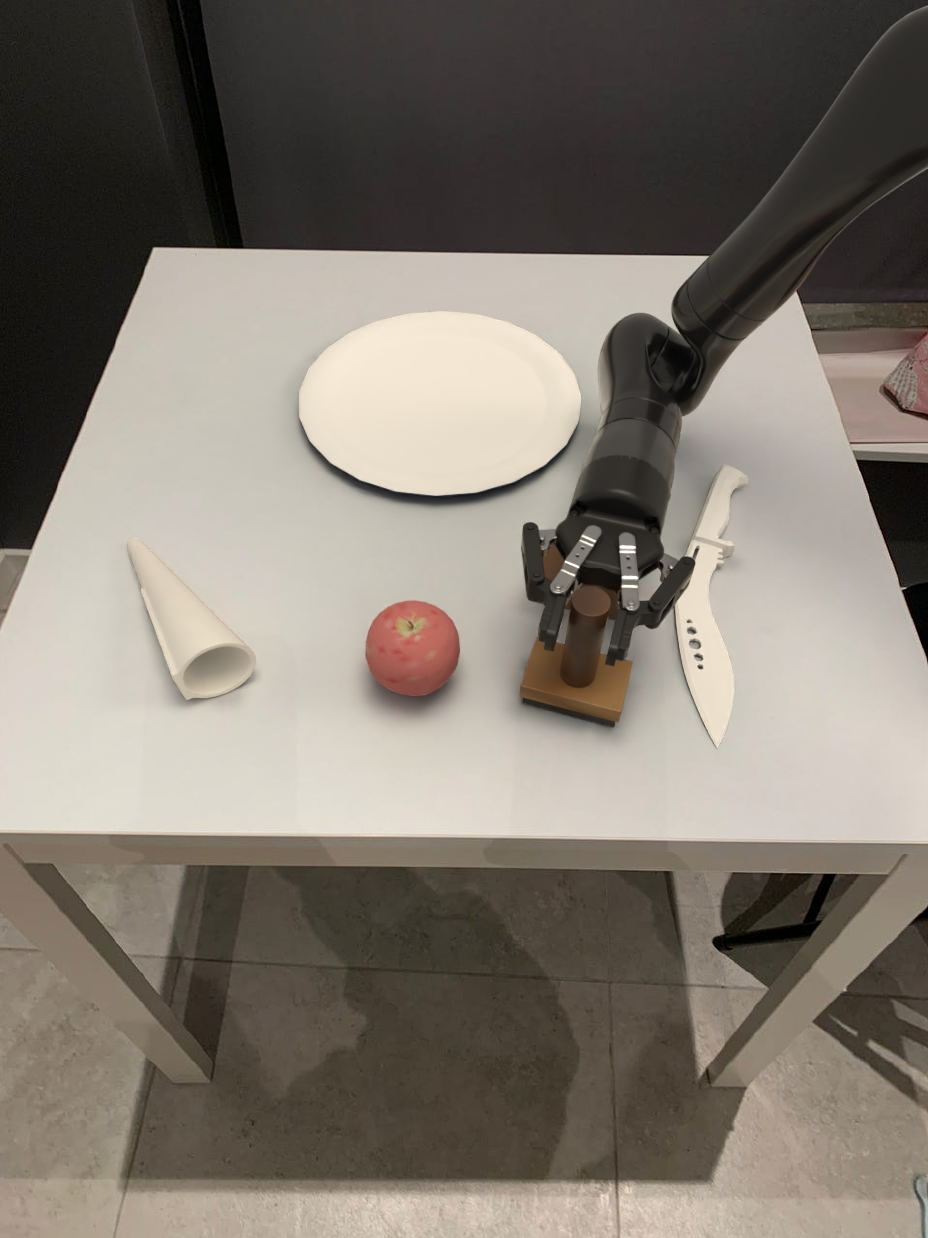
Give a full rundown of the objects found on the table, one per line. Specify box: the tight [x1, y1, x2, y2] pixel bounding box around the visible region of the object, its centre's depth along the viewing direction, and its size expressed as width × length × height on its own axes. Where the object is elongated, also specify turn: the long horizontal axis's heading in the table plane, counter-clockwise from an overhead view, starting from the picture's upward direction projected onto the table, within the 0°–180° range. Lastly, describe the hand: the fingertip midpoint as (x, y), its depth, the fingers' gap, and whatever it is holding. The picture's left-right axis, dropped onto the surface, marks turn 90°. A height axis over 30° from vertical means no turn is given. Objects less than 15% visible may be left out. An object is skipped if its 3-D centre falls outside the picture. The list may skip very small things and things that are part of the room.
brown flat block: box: [527, 546, 617, 621], centre depth 83 cm, size 8×7×1 cm
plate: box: [298, 310, 582, 498], centre depth 97 cm, size 29×29×2 cm
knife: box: [674, 464, 749, 749], centre depth 81 cm, size 30×2×8 cm
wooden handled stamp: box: [519, 586, 634, 728], centre depth 71 cm, size 8×5×12 cm, turn 73°
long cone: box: [127, 536, 257, 701], centre depth 79 cm, size 6×6×19 cm
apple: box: [365, 599, 461, 697], centre depth 73 cm, size 7×7×8 cm
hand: (580, 651), depth 66 cm, fingers open, 4 cm apart
